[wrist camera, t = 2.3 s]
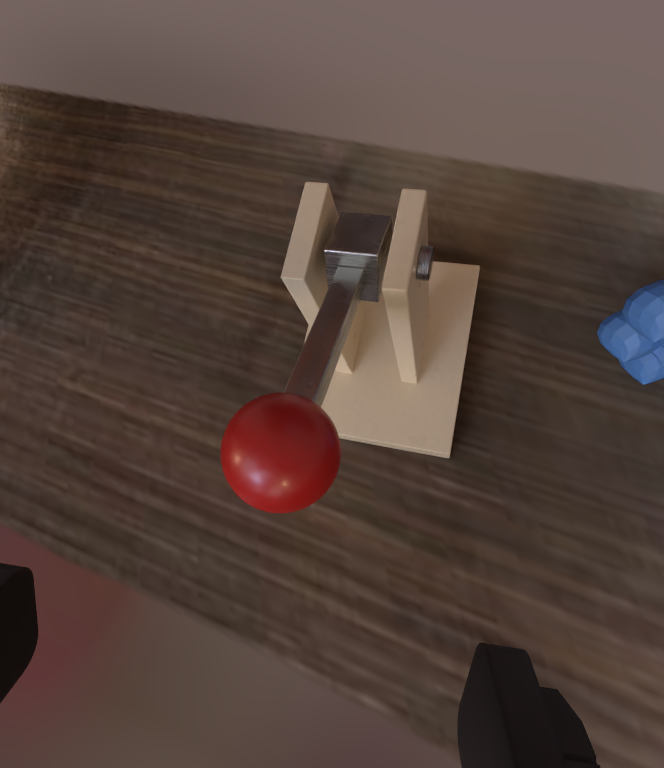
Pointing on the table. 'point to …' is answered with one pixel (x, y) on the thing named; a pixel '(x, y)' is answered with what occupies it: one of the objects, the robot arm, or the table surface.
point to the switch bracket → (390, 330)
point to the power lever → (308, 384)
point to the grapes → (638, 334)
